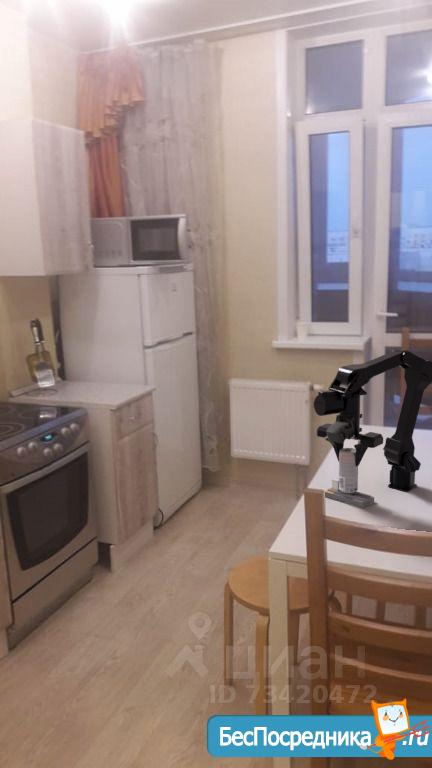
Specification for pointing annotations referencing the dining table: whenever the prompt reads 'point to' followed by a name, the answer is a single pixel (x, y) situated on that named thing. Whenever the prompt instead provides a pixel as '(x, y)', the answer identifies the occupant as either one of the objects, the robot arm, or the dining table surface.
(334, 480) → the switch knob
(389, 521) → the dining table surface
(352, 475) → the energy drink
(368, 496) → the switch plate
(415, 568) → the dining table surface
